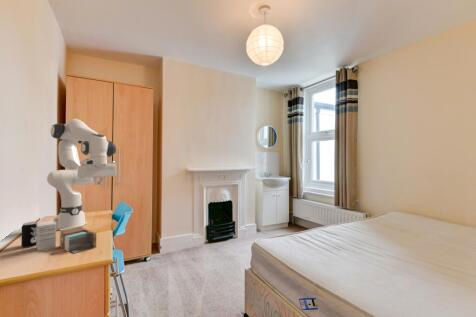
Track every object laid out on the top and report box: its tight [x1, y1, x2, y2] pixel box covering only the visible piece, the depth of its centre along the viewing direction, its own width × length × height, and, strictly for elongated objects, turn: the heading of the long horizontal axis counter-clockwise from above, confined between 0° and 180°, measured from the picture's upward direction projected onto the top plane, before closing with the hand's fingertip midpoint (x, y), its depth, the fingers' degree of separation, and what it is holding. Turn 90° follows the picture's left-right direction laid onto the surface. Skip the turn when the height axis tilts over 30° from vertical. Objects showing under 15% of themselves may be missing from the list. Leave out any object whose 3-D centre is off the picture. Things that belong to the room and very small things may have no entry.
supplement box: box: [35, 220, 57, 252], centre depth 116 cm, size 7×7×13 cm
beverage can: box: [20, 221, 38, 249], centre depth 118 cm, size 7×7×12 cm
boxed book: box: [64, 231, 88, 252], centre depth 115 cm, size 4×9×7 cm, turn 146°
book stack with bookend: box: [59, 225, 97, 254], centre depth 116 cm, size 18×10×9 cm, turn 56°
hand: (98, 184), depth 130 cm, fingers closed
